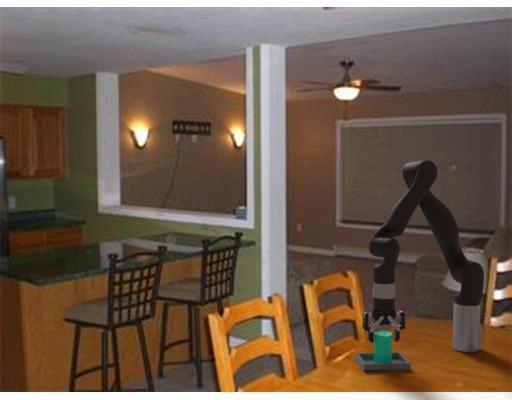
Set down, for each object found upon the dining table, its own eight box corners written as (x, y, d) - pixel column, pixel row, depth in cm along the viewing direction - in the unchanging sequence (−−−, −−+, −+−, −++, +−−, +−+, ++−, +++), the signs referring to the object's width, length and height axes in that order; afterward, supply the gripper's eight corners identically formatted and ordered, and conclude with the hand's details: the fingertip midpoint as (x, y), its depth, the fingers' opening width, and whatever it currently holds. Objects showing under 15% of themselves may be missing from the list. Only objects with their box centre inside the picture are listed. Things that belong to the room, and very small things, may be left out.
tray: (399, 358, 221) (399, 351, 221) (410, 370, 209) (410, 363, 209) (355, 359, 220) (355, 352, 220) (363, 371, 208) (363, 364, 208)
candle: (390, 360, 217) (391, 326, 216) (392, 366, 212) (393, 331, 211) (373, 359, 218) (373, 326, 217) (374, 365, 212) (375, 331, 211)
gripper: (400, 292, 217) (400, 337, 218) (360, 293, 216) (360, 339, 217) (408, 297, 209) (407, 344, 211) (366, 298, 208) (366, 346, 210)
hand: (383, 341), depth 214 cm, fingers open, 8 cm apart
